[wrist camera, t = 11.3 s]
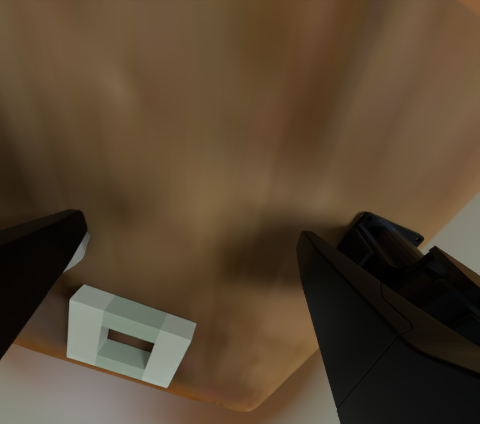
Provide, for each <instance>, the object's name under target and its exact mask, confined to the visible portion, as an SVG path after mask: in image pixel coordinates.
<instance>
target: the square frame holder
mask: <svg viewBox="0 0 480 424" xmlns="http://www.w3.org/2000/svg"><path fill="white" fill-rule="evenodd" d="M196 324H197V323H195V322H192V321H189V320H186V319H183V318H180V317H177V316H174V315H171V314H169V313H166V312H163V311H160V310H157V309H154V308H151V307H148V306H145V305H143V304H140V303H137V302H134V301H131V300H128V299H125V298H122V297H119V296H117V295H114V294H111V293H108V292H105V291H102V290H99V289H96V288H93V287H91V286H88V285H85V284H84V285H83V286H82V287H81V288H80V289H79V290H78V291H77V292H76V293H75V294H74V295H73V296H72V297H71V298H70V303H69V324H68V344H67V357H68V358H72V359H75V360H78V361H81V362H84V363H88V364H91V365H94V366H97V367H101V368H104V369H107V370H110V371H113V372H117V373H120V374H123V375H126V376H130V377H133V378H136V379H139V380H142V381H146V382H149V383H152V384H155V385H158V386H162V387H165V388H167V387H168V385H169V383H170V381H171V379H172V378H173V376H174V374H175V372H176V370H177V368H178V366H179V364H180V362H181V360H182V358H183V356H184V354H185V352H186V350H187V348H188V346H189V344H190V343H191V341H192V337H193V334H194V330H195V327H196ZM109 329H112V330H115V331H118V332H121V333H124V334H127V335H130V336H134V337H137V338H140V339H143V340H146V341H149V342H152V343H155V345H154V347H153V350H152V353H150V352H147V351H144V350H141V349H138V348H135V347H132V346H129V345H126V344H123V343H120V342H117V341H114V340H110V339H107V336H108V331H109Z"/></svg>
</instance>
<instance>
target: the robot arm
mask: <svg viewBox="0 0 480 424" xmlns="http://www.w3.org/2000/svg"><path fill="white" fill-rule="evenodd" d="M367 217H370V218H369V219H367ZM86 233H87V224H86V221H85V217H84V214H83V212H82V211H80V210H73V209H69V210H66V211H62V212H59V213H56V214H53V215H49V216H46V217H43V218H40V219H37V220H33V221H30V222H27V223H24V224H20V225H17V226H14V227H11V228H7V229H4V230H1V231H0V360H1V358H2V357H3V355H4V354H5V353H6V351H7V350H8V349H9V347H10V346H11V344H12V343H13V342H14V340H15V339H16V338H17V336H18V335H19V333H20V332H21V331H22V329H23V328H24V326H25V325H26V324H27V322H28V321H29V319H30V318H31V317H32V315H33V314H34V312H35V311H36V310H37V308H38V307H39V305H40V304H41V303H42V301H43V300H44V298H45V297H46V296H47V294H48V293H49V292H50V290H51V289H52V287H53V286H54V285H55V283H56V282H57V280H58V279H59V278H60V276H61V275H62V273H63V272H64V271H65V269H66V268H67V266H68V265H69V263H70V261H71V260H72V258H73V256H74V255H75V253H76V251H77V249H78V247H79V246H80V244H81V242H82V240H83V239H84V237H85V235H86ZM417 238H418V239H417ZM423 241H424V237H423V236H422V235H420V234H419V233H417V232H414V231H412V230H410V229H407V228H405V227H403V226H401V225H398V224H396V223H394V222H391V221H389V220H387V219H384V218H382V217H380V216H378V215H375V214H373V213H370V212H367V213H365V214H364V215H363V216H362V217H361V218H360V220H359V221H358V222H357V223H356V225H355V226H354V227H353V228H352V229H351V230H350V231H349V232H348V234H347V235H346V236H345V238H344V239H343V240H342V241H341V243H340V244H339V245H338V247H337V249H335V248H334V247H332V246H331V245H330V244H328V243H327V242H326V241H324V240H323V239H321V238H320V237H319V236H317V235H316V234H315V233H313V232H311V231H302V232H301V234H300V237H299V241H298V244H297V248H296V251H297V258H298V264H299V271H300V277H301V282H302V286H303V290H304V294H305V297H306V301H307V305H308V308H309V312H310V315H311V319H312V323H313V326H314V330H315V333H316V337H317V340H318V344H319V348H320V351H321V355H322V358H323V362H324V366H325V369H326V373H327V376H328V380H329V384H330V387H331V391H332V394H333V398H334V401H335V405H336V408H337V413H338V417H339V420H340V424H480V276H479V275H478V274H477V273H475V272H474V271H472V270H471V269H469V268H468V267H466V266H465V265H463V264H462V263H460V262H459V261H457V260H456V259H454V258H453V257H452V256H450V255H448V254H447V253H445V252H444V251H443V250H441V249H440V248H438V247H437V246H434V247H433V248H431V249H430V250H429V251H430V252H428V253H427V254H426V255H423V254H422V252H420V251H419V250H418V249H417V247H418V246H419V245H420V244H421V243H422V242H423Z"/></svg>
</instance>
